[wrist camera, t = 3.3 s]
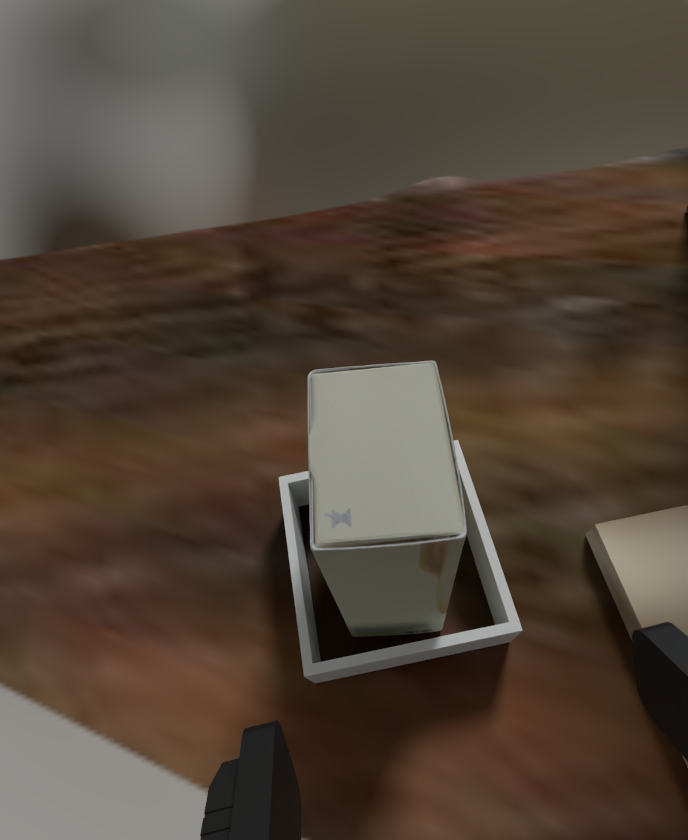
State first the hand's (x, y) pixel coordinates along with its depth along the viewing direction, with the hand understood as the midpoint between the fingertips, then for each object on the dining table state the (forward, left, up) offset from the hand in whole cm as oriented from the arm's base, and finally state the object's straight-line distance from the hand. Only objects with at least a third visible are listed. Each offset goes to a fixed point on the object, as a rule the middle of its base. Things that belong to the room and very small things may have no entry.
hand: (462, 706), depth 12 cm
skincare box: (-7, 0, -13) cm, 14 cm away
